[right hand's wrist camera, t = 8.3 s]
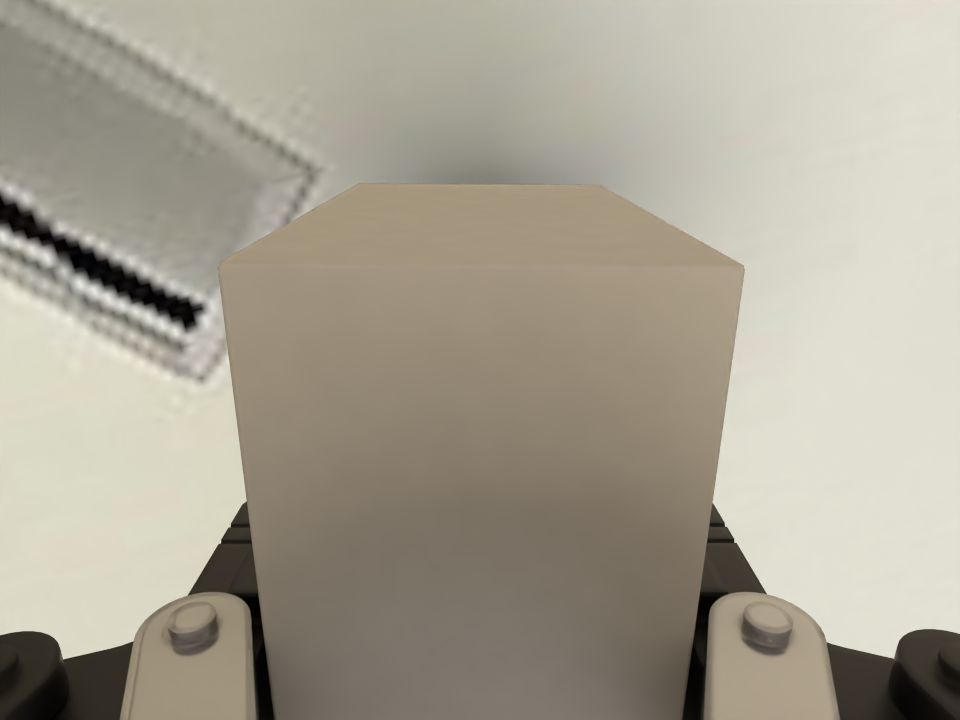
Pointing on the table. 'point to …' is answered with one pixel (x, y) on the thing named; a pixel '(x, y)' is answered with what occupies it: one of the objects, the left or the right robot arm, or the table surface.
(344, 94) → the table surface
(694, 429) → the bar
